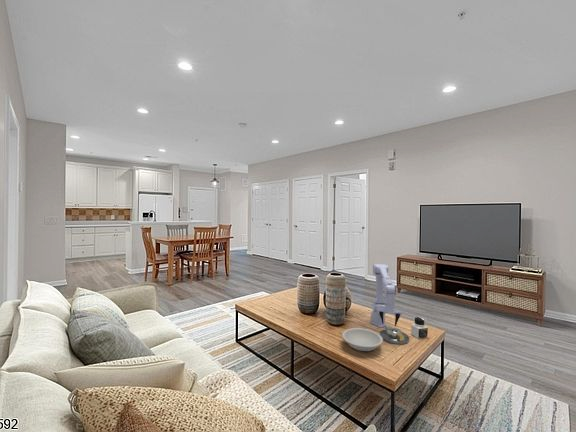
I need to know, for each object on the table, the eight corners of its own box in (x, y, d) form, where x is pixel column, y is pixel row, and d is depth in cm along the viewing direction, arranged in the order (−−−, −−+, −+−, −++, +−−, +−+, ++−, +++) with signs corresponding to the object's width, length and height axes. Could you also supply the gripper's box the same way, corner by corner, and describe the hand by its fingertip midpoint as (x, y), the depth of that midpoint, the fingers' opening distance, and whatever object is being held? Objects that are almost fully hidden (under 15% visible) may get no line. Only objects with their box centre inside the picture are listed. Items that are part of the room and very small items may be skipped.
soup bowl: (352, 334, 185) (352, 324, 185) (388, 346, 170) (388, 335, 170) (334, 348, 167) (334, 337, 166) (373, 363, 151) (373, 351, 151)
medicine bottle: (418, 339, 179) (419, 321, 178) (410, 334, 186) (411, 316, 185) (427, 338, 181) (428, 320, 180) (419, 333, 188) (420, 315, 187)
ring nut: (398, 342, 171) (398, 337, 171) (380, 331, 186) (380, 326, 186) (409, 339, 175) (409, 334, 175) (390, 328, 190) (390, 324, 190)
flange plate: (373, 335, 183) (374, 333, 183) (390, 329, 193) (390, 326, 193) (398, 347, 168) (398, 344, 168) (414, 339, 178) (414, 337, 178)
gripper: (377, 304, 175) (377, 325, 175) (402, 307, 170) (401, 328, 171) (377, 300, 182) (377, 320, 182) (401, 303, 177) (401, 324, 178)
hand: (389, 324), depth 177 cm, fingers open, 7 cm apart
